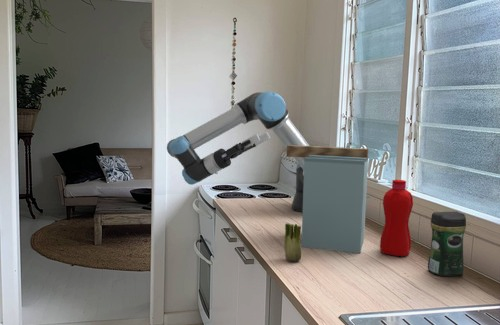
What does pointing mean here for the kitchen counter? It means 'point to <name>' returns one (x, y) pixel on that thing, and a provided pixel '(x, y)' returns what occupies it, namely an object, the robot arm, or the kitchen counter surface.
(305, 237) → the grey-blue storage bin
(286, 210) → the kitchen counter surface
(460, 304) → the kitchen counter surface
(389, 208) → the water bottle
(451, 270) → the coffee jar
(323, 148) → the walnut slat
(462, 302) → the kitchen counter surface
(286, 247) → the fennel bulb
